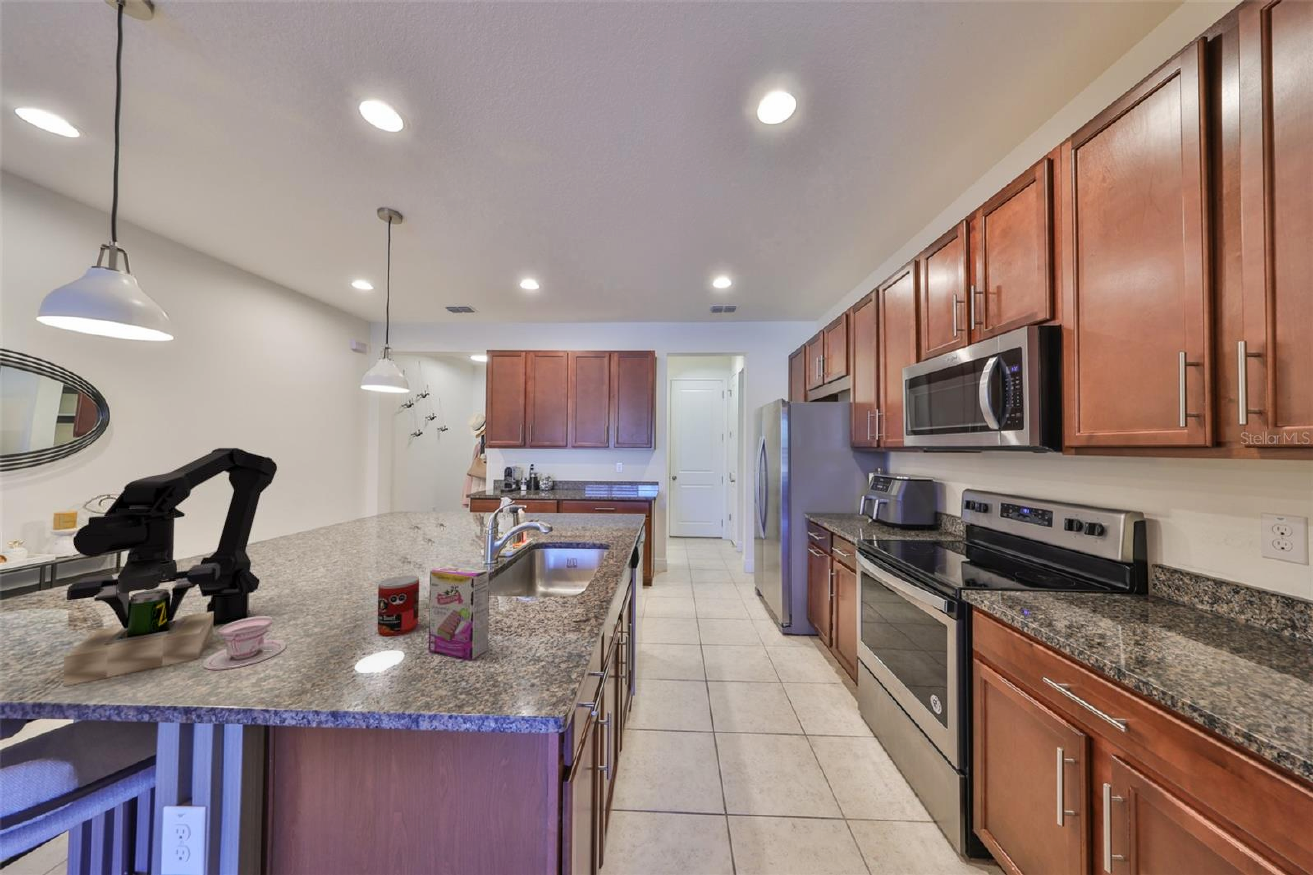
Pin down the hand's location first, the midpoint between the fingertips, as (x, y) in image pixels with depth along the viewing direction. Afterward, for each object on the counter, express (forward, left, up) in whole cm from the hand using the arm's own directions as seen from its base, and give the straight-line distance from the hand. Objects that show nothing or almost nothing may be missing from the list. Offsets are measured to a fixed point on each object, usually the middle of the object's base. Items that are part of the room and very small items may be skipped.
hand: (149, 624), depth 84 cm
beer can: (0, 0, -6) cm, 6 cm away
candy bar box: (-48, +35, -7) cm, 60 cm away
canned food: (-40, +15, -7) cm, 43 cm away
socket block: (0, 0, -6) cm, 6 cm away
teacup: (-15, +11, -7) cm, 20 cm away
